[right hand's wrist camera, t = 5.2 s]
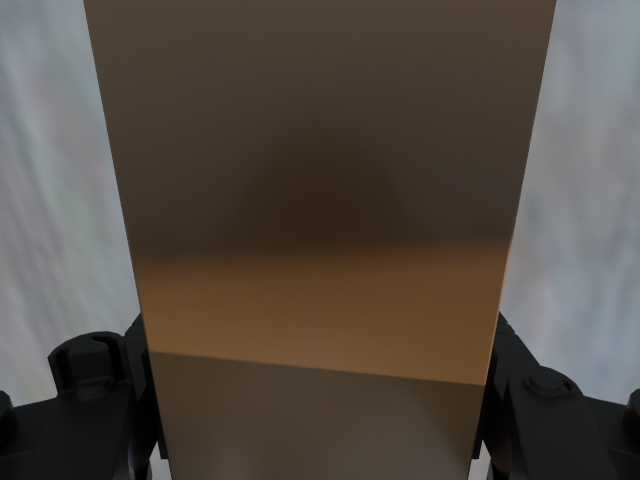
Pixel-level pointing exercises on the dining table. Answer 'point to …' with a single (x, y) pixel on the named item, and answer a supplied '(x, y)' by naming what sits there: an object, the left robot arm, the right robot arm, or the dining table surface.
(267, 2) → the bar
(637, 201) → the dining table surface
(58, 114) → the dining table surface
